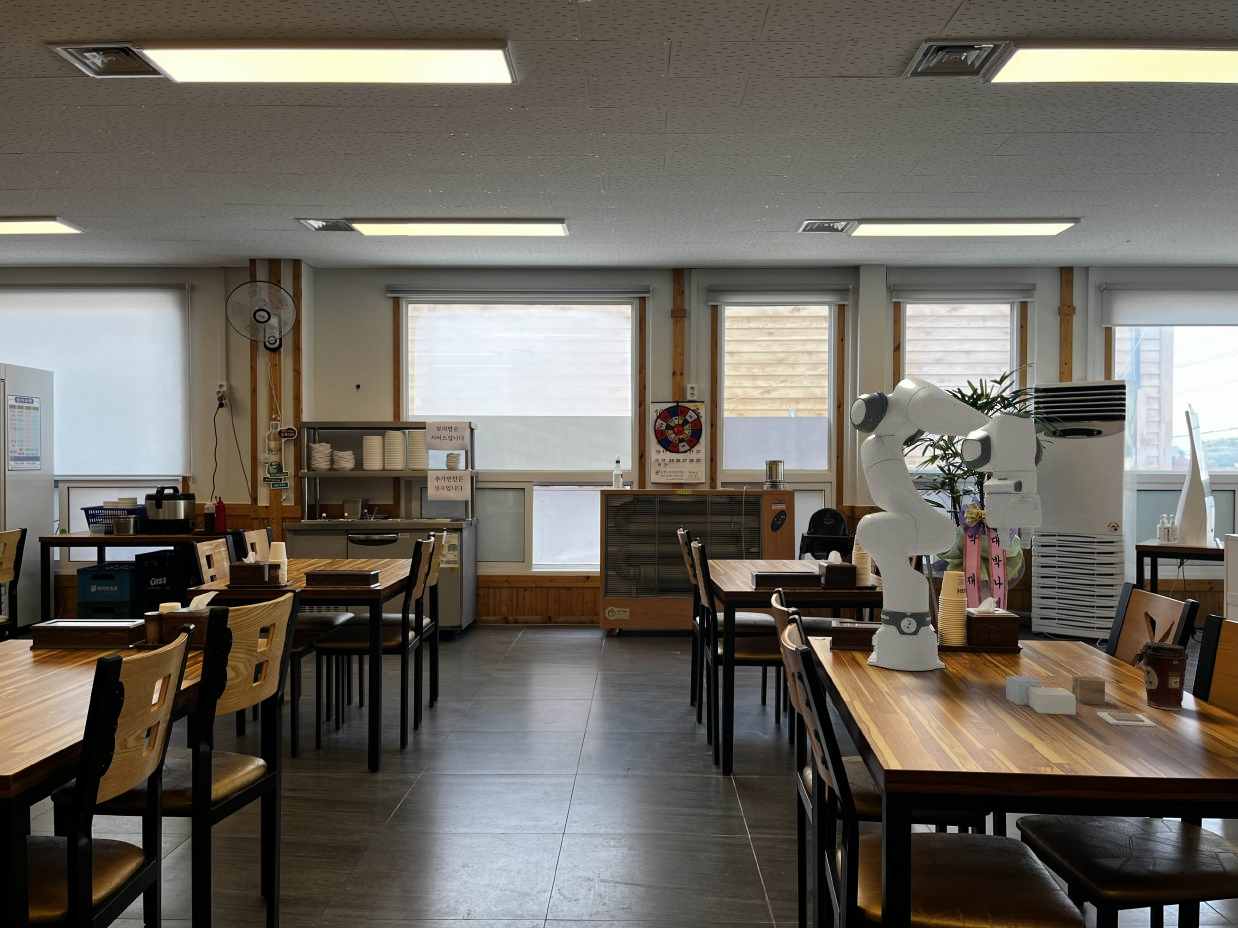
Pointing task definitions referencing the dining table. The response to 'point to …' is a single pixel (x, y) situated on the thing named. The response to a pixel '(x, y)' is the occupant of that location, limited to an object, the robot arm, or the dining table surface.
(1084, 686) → the walnut cube
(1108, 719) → the tile
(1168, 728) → the dining table surface
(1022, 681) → the grey cube
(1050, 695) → the plinth block
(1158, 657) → the coffee cup
